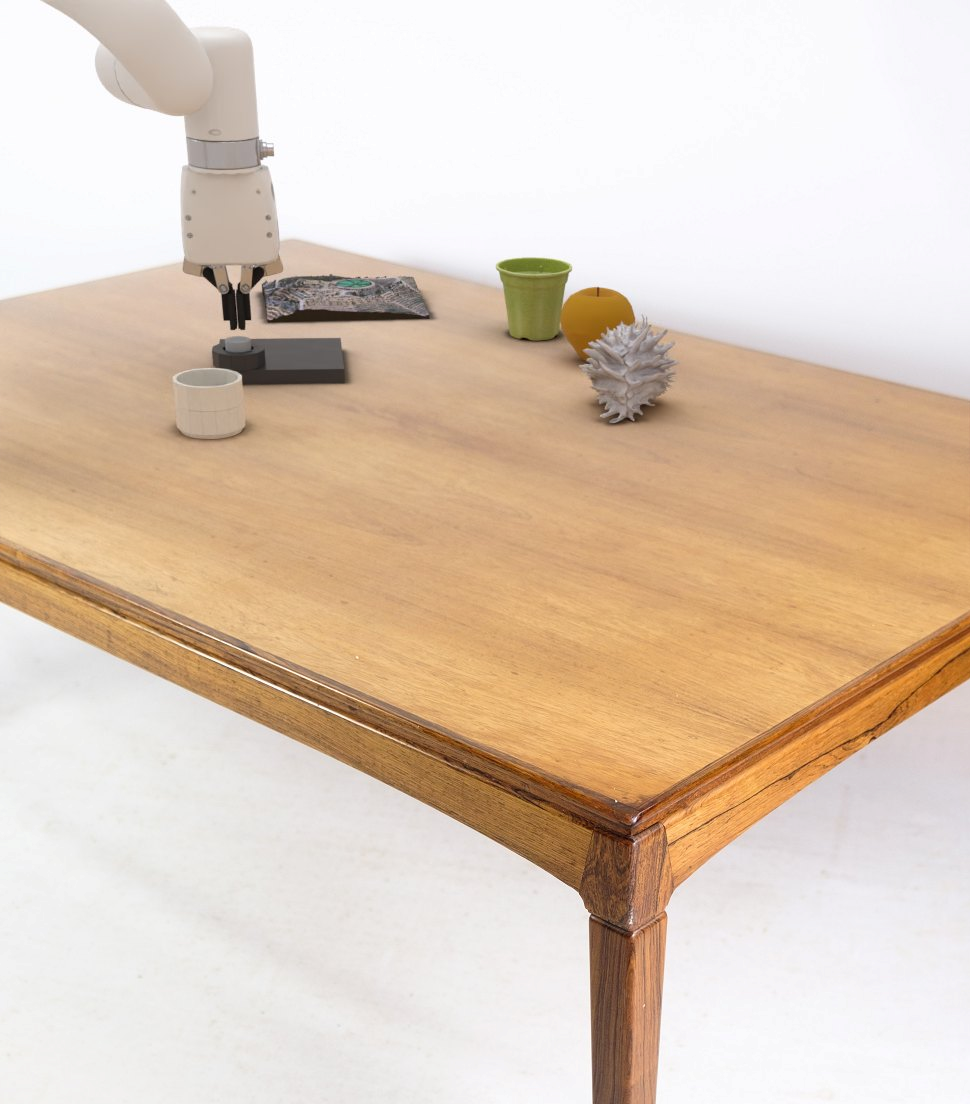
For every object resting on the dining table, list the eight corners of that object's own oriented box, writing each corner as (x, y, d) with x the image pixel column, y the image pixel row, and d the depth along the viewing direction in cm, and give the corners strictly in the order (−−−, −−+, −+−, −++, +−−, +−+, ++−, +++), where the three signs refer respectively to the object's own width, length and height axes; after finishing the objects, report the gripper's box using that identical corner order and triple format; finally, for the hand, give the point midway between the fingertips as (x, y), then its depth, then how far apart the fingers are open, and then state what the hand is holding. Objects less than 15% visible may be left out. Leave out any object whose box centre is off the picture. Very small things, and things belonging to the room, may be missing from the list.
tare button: (225, 354, 180) (224, 342, 180) (226, 348, 183) (225, 336, 182) (251, 354, 181) (250, 342, 180) (251, 347, 183) (250, 335, 182)
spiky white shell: (659, 415, 185) (565, 432, 180) (642, 317, 183) (547, 332, 178) (709, 407, 175) (611, 425, 170) (693, 303, 173) (593, 319, 168)
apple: (556, 350, 199) (558, 276, 194) (629, 351, 199) (632, 277, 195) (561, 371, 191) (562, 295, 186) (637, 372, 192) (640, 296, 187)
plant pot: (514, 348, 199) (514, 276, 195) (484, 329, 206) (484, 259, 202) (583, 341, 203) (585, 271, 199) (551, 323, 210) (552, 254, 206)
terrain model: (268, 323, 204) (266, 297, 203) (262, 295, 217) (260, 270, 216) (429, 319, 209) (428, 294, 207) (414, 291, 222) (413, 267, 220)
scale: (213, 386, 180) (211, 355, 179) (217, 353, 192) (215, 323, 190) (345, 384, 183) (343, 353, 181) (341, 351, 194) (339, 322, 193)
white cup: (175, 441, 164) (170, 387, 161) (179, 420, 169) (174, 368, 167) (245, 439, 165) (241, 386, 162) (246, 418, 171) (242, 367, 168)
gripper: (296, 148, 176) (306, 317, 185) (153, 148, 174) (170, 319, 182) (296, 161, 170) (307, 335, 179) (148, 160, 167) (166, 337, 176)
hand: (238, 326), depth 180 cm, fingers closed
